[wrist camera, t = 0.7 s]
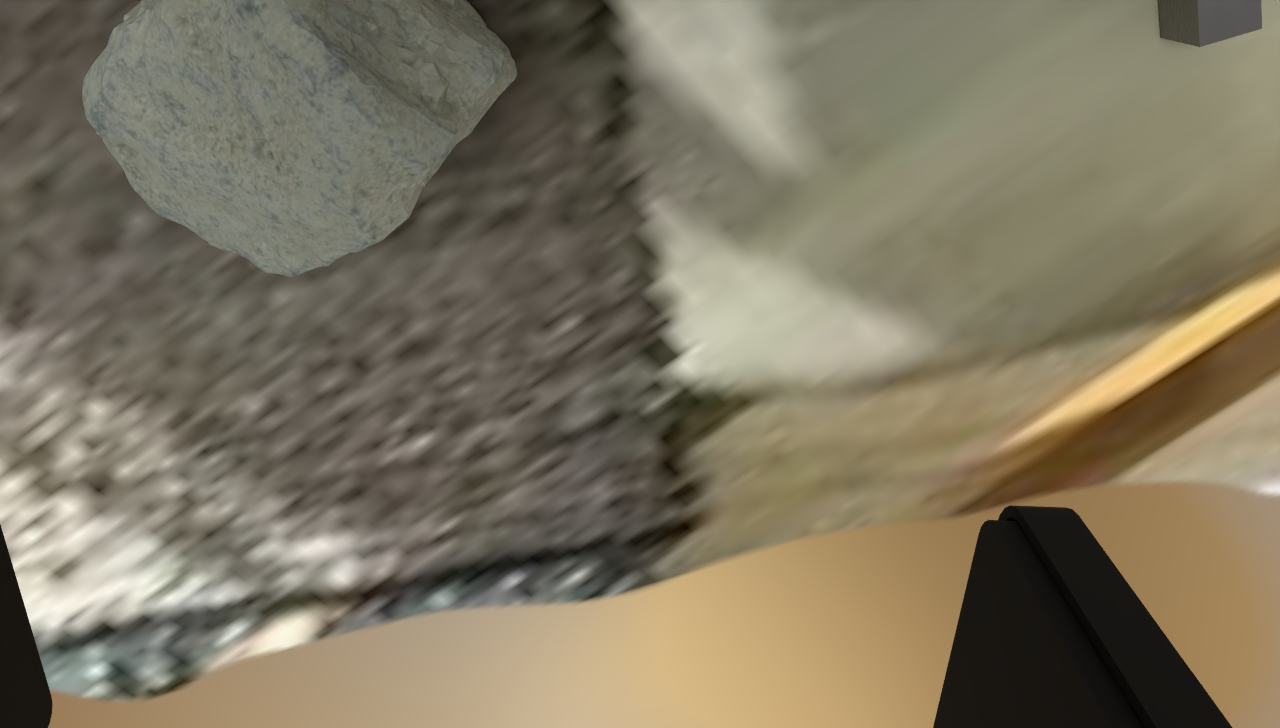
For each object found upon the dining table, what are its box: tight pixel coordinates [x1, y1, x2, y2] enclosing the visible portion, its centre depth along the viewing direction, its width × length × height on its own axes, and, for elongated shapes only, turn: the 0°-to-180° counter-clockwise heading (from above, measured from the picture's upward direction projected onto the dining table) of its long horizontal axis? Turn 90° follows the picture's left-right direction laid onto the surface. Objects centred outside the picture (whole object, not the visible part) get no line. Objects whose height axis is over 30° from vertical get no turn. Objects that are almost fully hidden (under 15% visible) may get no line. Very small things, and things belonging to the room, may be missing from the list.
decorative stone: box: [82, 0, 517, 277], centre depth 29 cm, size 13×11×10 cm
